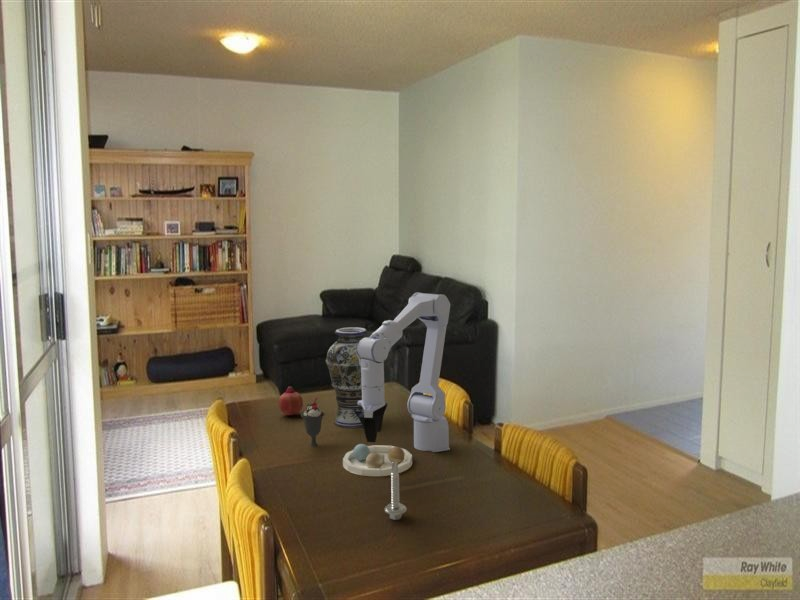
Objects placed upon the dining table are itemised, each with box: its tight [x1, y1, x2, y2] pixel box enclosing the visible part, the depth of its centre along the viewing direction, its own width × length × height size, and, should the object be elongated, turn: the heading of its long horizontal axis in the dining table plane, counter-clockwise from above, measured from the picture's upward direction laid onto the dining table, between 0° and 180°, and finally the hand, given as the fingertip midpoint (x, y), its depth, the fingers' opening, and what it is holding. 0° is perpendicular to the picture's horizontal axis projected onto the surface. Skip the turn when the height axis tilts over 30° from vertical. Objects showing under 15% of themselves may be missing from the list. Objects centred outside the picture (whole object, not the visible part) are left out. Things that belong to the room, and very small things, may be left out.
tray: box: [342, 444, 413, 477], centre depth 176 cm, size 18×18×3 cm
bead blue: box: [352, 443, 370, 461], centre depth 177 cm, size 4×4×4 cm
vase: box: [325, 326, 368, 429], centre depth 211 cm, size 17×17×30 cm
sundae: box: [300, 397, 326, 448], centre depth 189 cm, size 7×7×15 cm
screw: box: [384, 461, 407, 521], centre depth 145 cm, size 13×5×5 cm
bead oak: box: [388, 446, 405, 464], centre depth 175 cm, size 4×4×4 cm
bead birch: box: [366, 452, 383, 468], centre depth 171 cm, size 4×4×4 cm
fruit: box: [277, 385, 304, 417], centre depth 220 cm, size 8×8×10 cm
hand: (374, 436), depth 170 cm, fingers open, 7 cm apart
